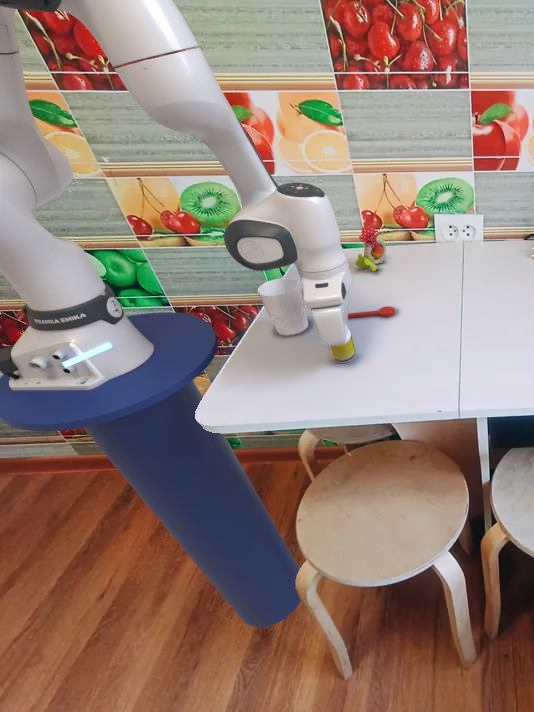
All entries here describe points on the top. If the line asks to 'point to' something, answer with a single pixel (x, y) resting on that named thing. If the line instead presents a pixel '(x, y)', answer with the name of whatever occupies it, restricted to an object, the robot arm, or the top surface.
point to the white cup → (284, 305)
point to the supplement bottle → (344, 349)
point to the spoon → (374, 313)
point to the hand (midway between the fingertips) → (345, 338)
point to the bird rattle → (371, 249)
